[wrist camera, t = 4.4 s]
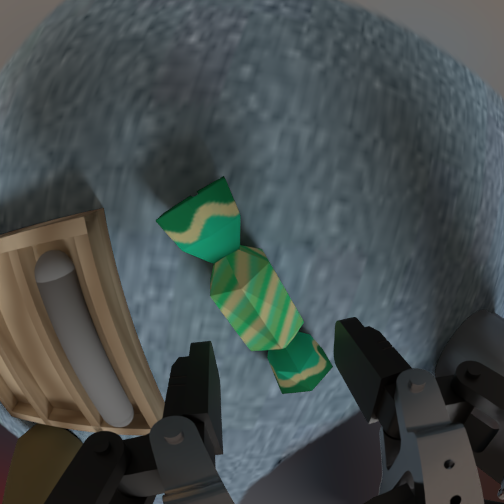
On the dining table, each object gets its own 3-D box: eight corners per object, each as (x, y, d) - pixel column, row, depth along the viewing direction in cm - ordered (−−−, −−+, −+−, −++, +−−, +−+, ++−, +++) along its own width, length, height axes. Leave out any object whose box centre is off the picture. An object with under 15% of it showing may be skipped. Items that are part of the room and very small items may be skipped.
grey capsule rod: (76, 241, 12) (54, 255, 10) (141, 409, 16) (136, 434, 14) (43, 247, 12) (20, 261, 10) (112, 409, 16) (105, 432, 14)
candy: (166, 210, 14) (149, 226, 10) (222, 175, 14) (225, 178, 10) (272, 363, 18) (286, 407, 14) (317, 339, 18) (340, 378, 14)
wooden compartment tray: (103, 207, 13) (83, 216, 11) (168, 410, 18) (165, 435, 15) (-47, 250, 12) (-65, 260, 9) (21, 399, 16) (11, 416, 14)
